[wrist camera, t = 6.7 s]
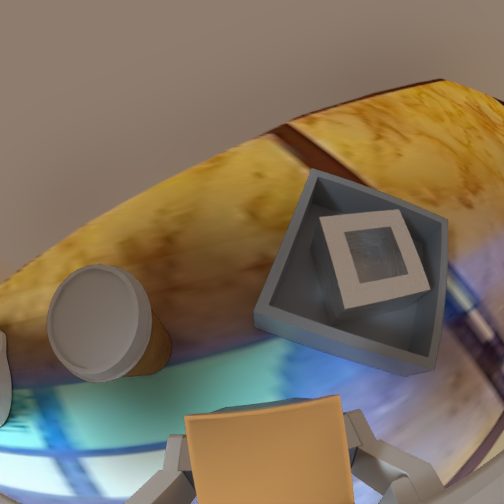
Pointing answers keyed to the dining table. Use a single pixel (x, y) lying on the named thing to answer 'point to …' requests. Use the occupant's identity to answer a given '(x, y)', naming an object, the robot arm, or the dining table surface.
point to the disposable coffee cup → (106, 326)
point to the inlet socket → (366, 265)
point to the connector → (271, 453)
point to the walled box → (364, 330)
